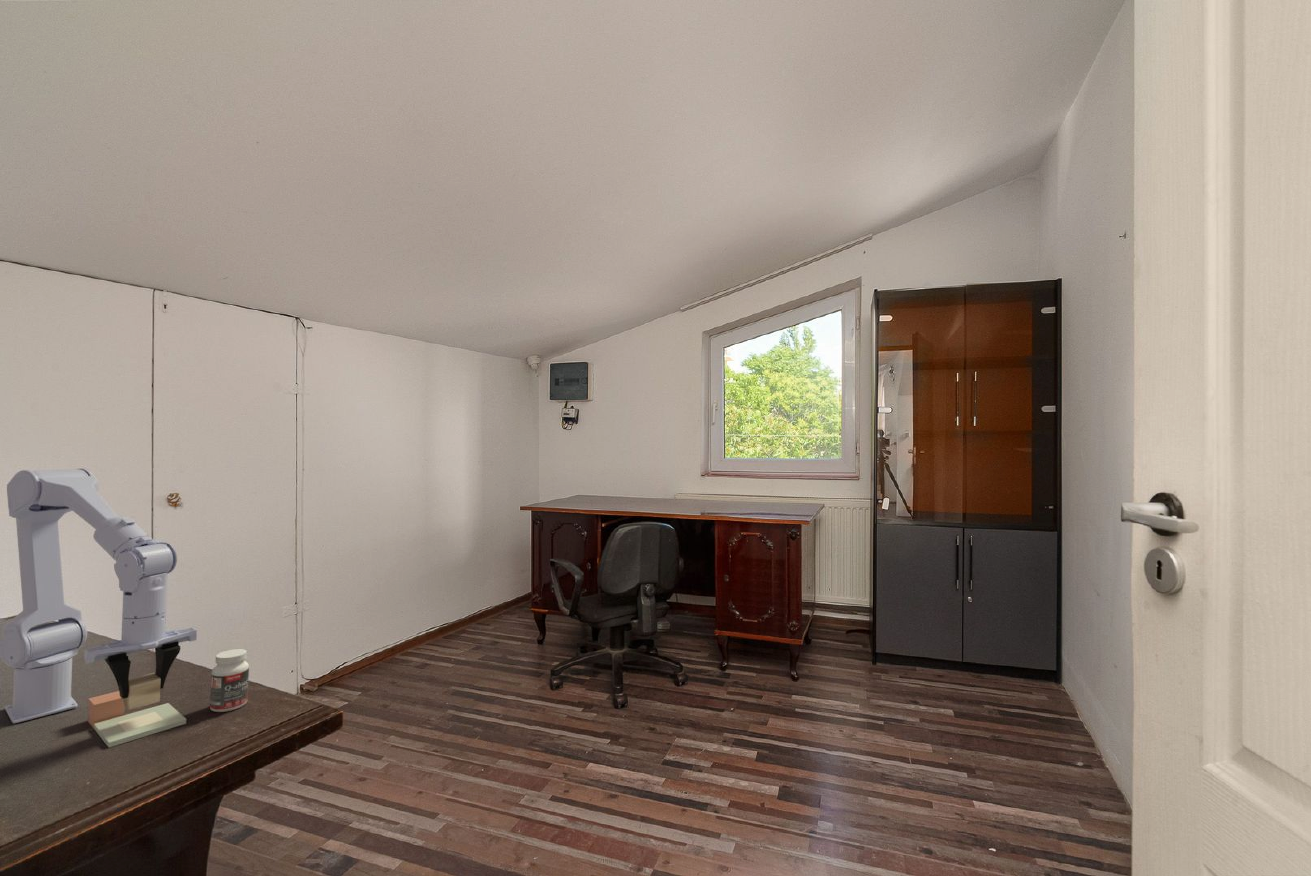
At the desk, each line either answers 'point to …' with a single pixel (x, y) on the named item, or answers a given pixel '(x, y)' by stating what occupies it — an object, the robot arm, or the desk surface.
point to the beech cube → (143, 691)
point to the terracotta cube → (105, 707)
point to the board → (138, 724)
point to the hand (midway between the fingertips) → (141, 691)
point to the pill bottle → (229, 681)
